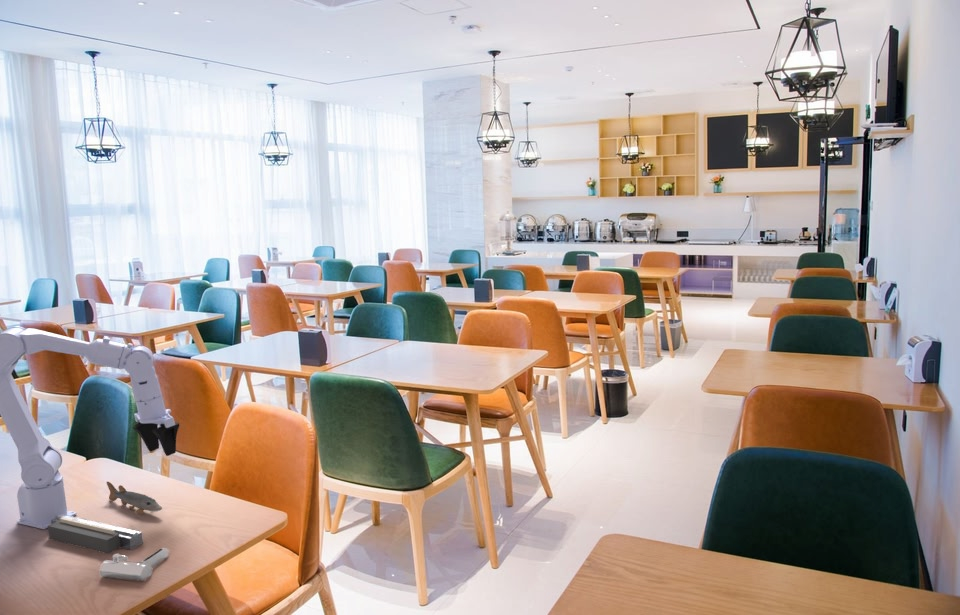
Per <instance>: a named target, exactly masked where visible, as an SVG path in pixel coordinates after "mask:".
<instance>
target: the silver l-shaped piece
mask: <svg viewBox="0 0 960 615" xmlns="http://www.w3.org/2000/svg"><path fill="white" fill-rule="evenodd" d="M168 557H169V549H168V548H166V547H160V548H159V549H157V550H156V551H155V552H153V553H152V554H150V555H148V556H146V557H145V558H144V559H143V560H141V561H137V562H136V561H128V559H129V557H128V556H127V555H124V554H120V553H114V554H112V559H109V558H106V559H104V560H103V561H102V562H101V565H100V566H99V576H101V577H102V578H107V577H108V579H115V578H116V579H118V580H124V579H127V581H133V580H137V581H138V582H143V581H144V580H145V579H146V580H148V579H149V578H150V577H151V576H152V573H153V569H154V568H156V567H157V566H158V565H159V564H160V563H162V562H163V561H165V560H166V559H167V558H168ZM165 558H166V559H165ZM161 561H162V562H161ZM152 568H153V569H152ZM148 577H149V578H148ZM147 578H148V579H147ZM146 580H145V581H146ZM145 581H144V582H145Z"/></svg>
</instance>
